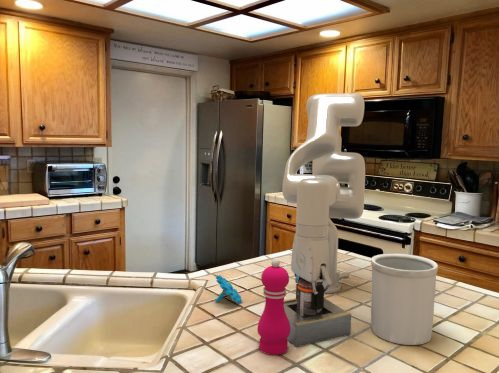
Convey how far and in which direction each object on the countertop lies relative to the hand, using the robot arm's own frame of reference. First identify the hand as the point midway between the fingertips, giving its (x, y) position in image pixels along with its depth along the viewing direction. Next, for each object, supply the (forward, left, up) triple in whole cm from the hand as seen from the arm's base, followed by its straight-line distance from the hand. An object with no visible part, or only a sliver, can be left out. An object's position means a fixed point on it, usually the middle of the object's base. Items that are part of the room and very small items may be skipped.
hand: (309, 303), depth 100 cm
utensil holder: (-19, +10, -7) cm, 23 cm away
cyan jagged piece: (+11, -23, -7) cm, 27 cm away
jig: (0, 0, -6) cm, 6 cm away
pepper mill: (+12, +5, -7) cm, 15 cm away
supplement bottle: (0, 0, -4) cm, 4 cm away
